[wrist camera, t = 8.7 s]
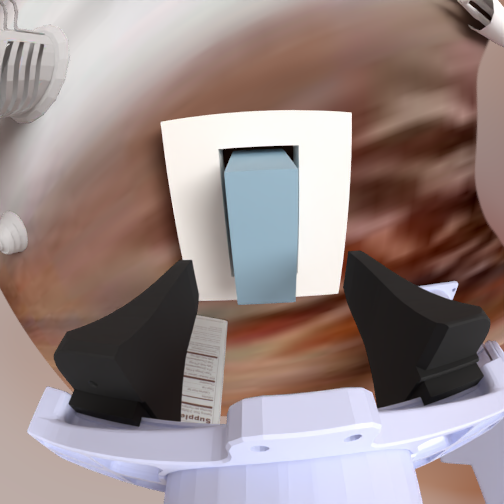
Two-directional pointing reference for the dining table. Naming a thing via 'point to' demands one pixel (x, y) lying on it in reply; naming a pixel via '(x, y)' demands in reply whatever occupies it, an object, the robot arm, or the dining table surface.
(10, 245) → the chalice
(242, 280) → the block
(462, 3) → the woman figurine
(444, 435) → the robot arm
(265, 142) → the white rectangular frame
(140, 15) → the dining table surface
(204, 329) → the supplement box
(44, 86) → the french press
